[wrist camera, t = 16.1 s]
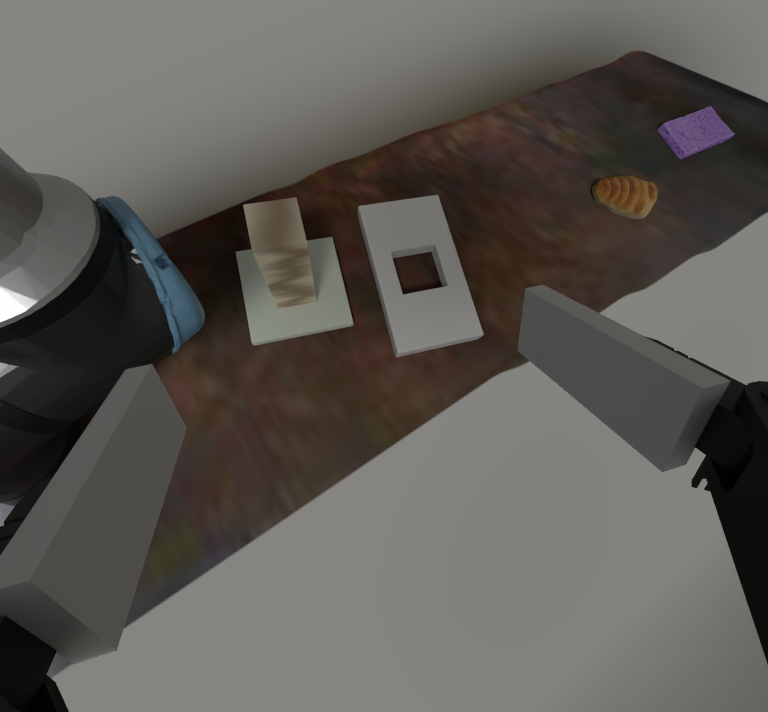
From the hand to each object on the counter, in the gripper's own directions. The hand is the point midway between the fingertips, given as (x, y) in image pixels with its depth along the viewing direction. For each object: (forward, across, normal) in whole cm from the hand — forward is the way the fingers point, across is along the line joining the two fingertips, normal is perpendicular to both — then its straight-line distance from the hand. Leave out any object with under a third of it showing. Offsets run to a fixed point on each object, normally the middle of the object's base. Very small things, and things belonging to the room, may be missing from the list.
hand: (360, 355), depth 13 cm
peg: (+35, -3, -9) cm, 37 cm away
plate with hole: (+35, +14, -11) cm, 40 cm away
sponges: (+48, +72, +1) cm, 87 cm away
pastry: (+40, +51, -7) cm, 66 cm away
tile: (+36, -3, -10) cm, 38 cm away
